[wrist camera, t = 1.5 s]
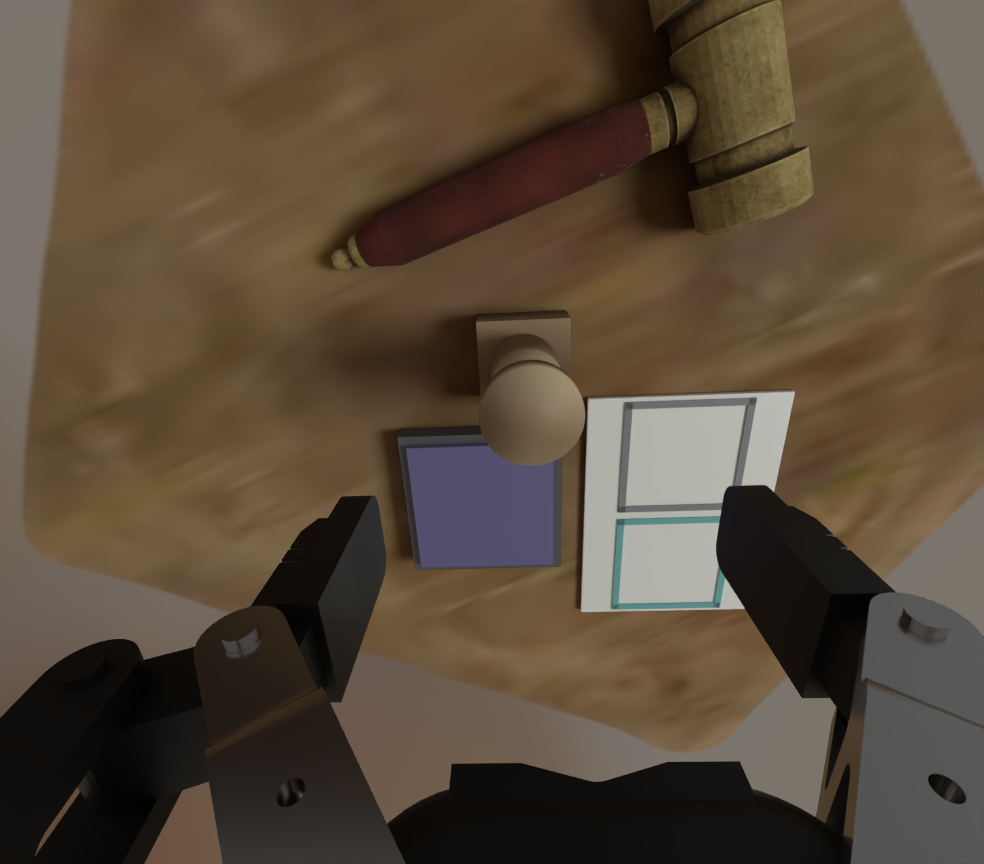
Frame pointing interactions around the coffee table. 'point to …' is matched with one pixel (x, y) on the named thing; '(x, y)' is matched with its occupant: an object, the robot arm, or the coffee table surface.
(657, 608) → the sheet
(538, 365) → the stamp
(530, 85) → the coffee table surface
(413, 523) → the ink pad
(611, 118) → the gavel
